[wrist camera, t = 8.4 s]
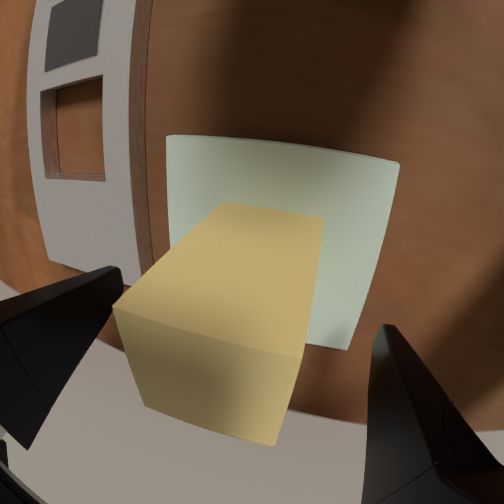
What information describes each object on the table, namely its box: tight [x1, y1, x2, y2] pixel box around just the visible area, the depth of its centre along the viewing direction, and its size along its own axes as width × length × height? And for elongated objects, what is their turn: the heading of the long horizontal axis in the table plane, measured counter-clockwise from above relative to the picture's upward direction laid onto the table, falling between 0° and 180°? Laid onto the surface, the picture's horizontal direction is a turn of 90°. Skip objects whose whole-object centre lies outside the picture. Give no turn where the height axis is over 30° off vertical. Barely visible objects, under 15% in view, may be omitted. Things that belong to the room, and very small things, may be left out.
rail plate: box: [27, 0, 154, 286], centre depth 11 cm, size 8×20×1 cm, turn 176°
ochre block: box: [112, 202, 324, 447], centre depth 9 cm, size 4×4×7 cm
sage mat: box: [166, 135, 400, 350], centre depth 13 cm, size 9×9×1 cm
